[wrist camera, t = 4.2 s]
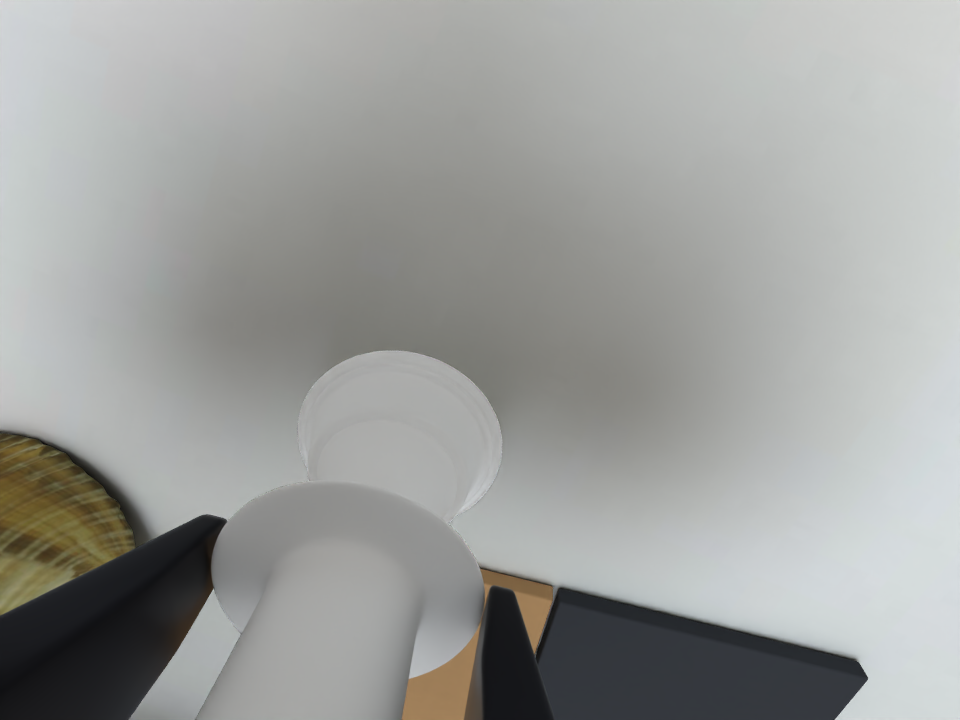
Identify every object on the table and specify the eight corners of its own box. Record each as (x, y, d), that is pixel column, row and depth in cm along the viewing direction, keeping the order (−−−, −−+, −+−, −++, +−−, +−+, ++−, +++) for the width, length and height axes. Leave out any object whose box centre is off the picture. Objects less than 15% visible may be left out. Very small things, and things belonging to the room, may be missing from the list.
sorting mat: (280, 739, 23) (273, 753, 22) (276, 517, 17) (267, 530, 16) (703, 856, 21) (706, 874, 21) (859, 660, 15) (870, 679, 15)
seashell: (69, 441, 22) (-78, 620, 19) (-98, 377, 16) (-360, 625, 13) (237, 524, 20) (104, 739, 17) (119, 487, 14) (-127, 815, 11)
